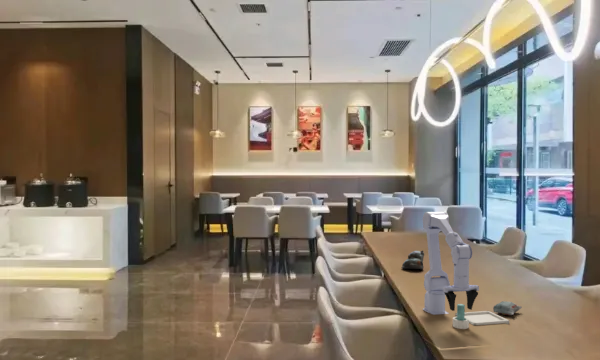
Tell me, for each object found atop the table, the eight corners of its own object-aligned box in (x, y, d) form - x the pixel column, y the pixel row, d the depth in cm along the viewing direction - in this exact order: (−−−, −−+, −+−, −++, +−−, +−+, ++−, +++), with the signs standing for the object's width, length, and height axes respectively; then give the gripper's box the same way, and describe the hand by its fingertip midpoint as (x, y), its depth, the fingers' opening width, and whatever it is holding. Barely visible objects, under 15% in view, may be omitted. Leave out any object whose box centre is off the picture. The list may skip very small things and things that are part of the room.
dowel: (455, 325, 197) (455, 304, 197) (461, 325, 198) (462, 303, 198) (459, 327, 194) (459, 306, 194) (465, 327, 195) (466, 305, 195)
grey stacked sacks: (397, 268, 313) (401, 247, 319) (412, 274, 317) (416, 254, 322) (411, 265, 300) (415, 244, 306) (427, 272, 304) (431, 251, 309)
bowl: (449, 326, 198) (449, 317, 198) (463, 325, 200) (463, 316, 200) (457, 330, 193) (458, 321, 192) (471, 329, 194) (471, 320, 194)
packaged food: (521, 312, 218) (521, 301, 218) (513, 319, 209) (513, 307, 209) (501, 309, 223) (501, 298, 223) (492, 315, 214) (492, 303, 214)
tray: (455, 316, 211) (455, 313, 211) (488, 314, 215) (488, 310, 215) (474, 326, 198) (474, 323, 197) (509, 324, 201) (509, 320, 201)
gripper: (450, 278, 190) (449, 313, 190) (483, 276, 193) (483, 311, 194) (440, 274, 197) (440, 308, 197) (473, 272, 200) (472, 306, 201)
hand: (460, 309), depth 196 cm, fingers open, 7 cm apart
